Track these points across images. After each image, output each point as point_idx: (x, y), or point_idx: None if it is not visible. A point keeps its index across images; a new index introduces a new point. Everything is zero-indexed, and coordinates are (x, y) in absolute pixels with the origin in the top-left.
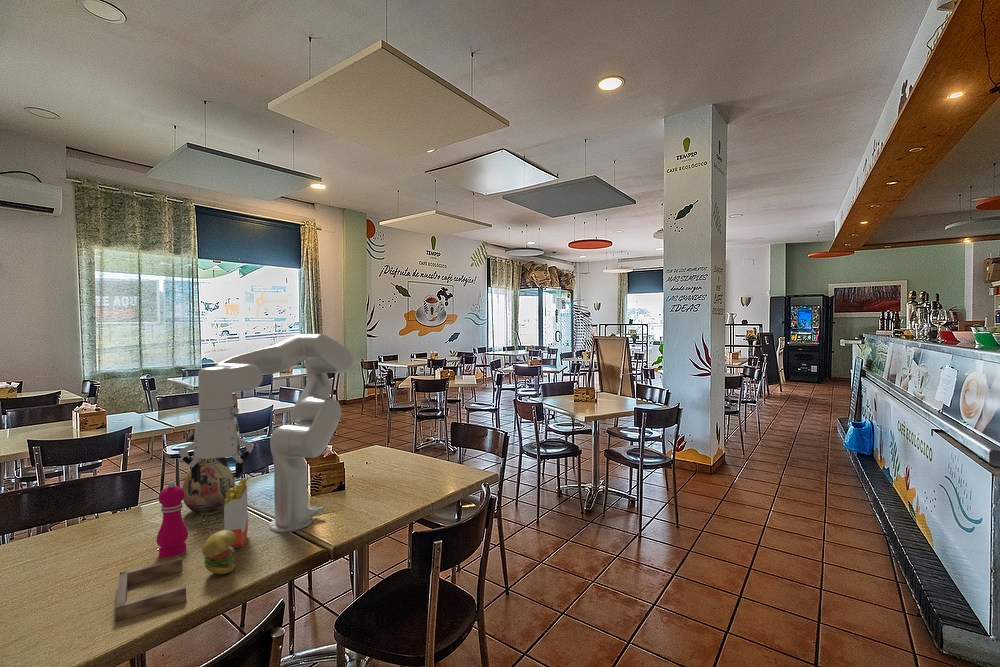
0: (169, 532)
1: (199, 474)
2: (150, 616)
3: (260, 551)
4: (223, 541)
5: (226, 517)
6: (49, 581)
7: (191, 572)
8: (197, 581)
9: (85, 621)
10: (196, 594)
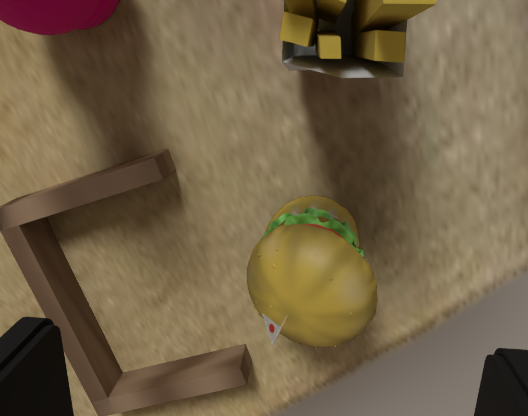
0: (22, 19)
1: (29, 386)
2: None
3: (437, 94)
4: (337, 344)
5: (299, 66)
6: None
7: (211, 189)
8: None
9: None
10: None
